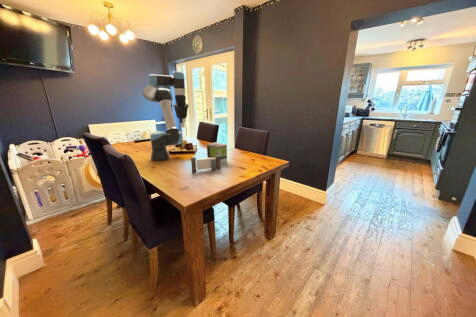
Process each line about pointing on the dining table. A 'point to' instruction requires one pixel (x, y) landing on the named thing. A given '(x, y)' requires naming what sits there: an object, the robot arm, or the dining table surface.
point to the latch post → (218, 162)
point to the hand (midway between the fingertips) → (182, 127)
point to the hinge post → (193, 164)
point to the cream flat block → (204, 163)
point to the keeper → (213, 165)
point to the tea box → (217, 151)
